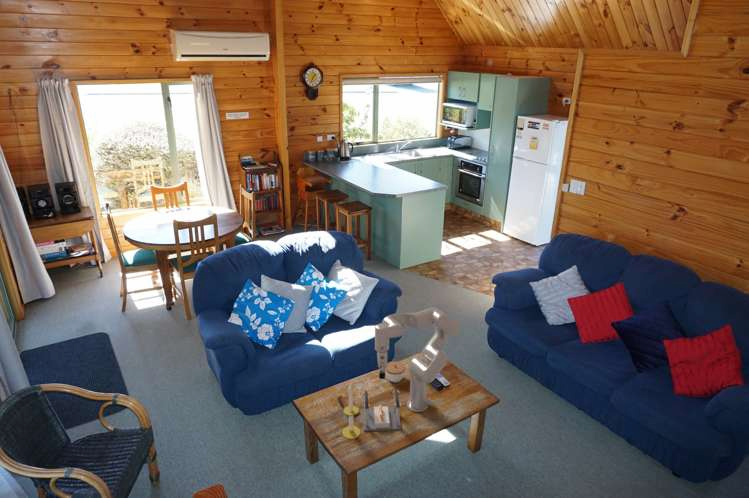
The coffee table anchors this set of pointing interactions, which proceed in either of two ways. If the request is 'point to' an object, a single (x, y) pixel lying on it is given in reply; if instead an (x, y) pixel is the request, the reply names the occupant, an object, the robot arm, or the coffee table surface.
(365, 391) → the dark grey rod
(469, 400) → the coffee table surface
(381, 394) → the coffee table surface
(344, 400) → the sunglasses case
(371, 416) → the board
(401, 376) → the lidded bowl
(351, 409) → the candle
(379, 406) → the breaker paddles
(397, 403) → the dark gray rod
